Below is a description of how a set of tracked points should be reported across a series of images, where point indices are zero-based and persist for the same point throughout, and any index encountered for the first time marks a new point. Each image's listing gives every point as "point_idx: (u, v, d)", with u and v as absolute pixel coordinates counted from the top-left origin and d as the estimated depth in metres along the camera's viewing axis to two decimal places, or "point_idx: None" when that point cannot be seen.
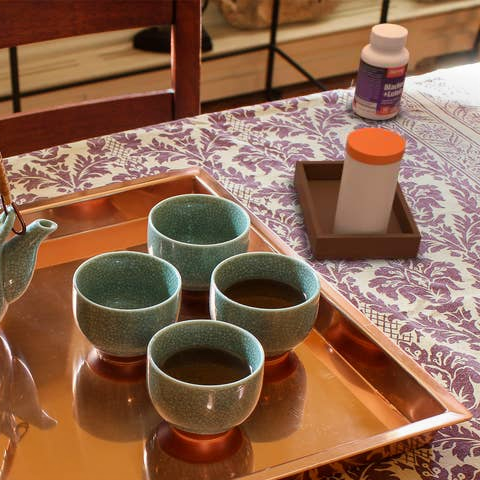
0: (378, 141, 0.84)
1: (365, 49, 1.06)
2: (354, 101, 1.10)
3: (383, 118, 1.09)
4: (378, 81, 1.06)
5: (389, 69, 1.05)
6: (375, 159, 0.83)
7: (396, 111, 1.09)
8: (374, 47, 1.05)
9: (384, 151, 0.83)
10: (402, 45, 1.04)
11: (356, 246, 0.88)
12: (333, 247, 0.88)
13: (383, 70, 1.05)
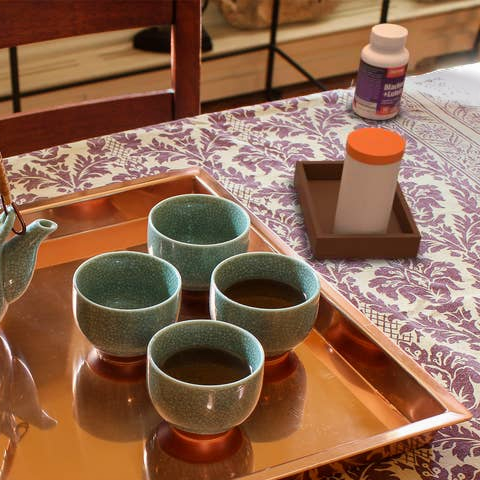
0: (378, 141, 0.84)
1: (365, 49, 1.06)
2: (354, 101, 1.10)
3: (383, 118, 1.09)
4: (378, 81, 1.06)
5: (389, 69, 1.05)
6: (375, 159, 0.83)
7: (396, 111, 1.09)
8: (374, 47, 1.05)
9: (384, 151, 0.83)
10: (402, 45, 1.04)
11: (356, 246, 0.88)
12: (333, 247, 0.88)
13: (383, 70, 1.05)
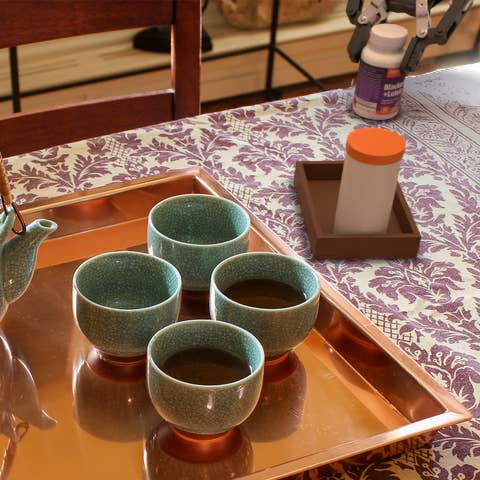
0: (378, 141, 0.84)
1: (365, 49, 1.06)
2: (354, 101, 1.10)
3: (383, 118, 1.09)
4: (378, 81, 1.06)
5: (388, 69, 1.05)
6: (375, 159, 0.83)
7: (396, 111, 1.09)
8: (374, 47, 1.05)
9: (384, 151, 0.83)
10: (402, 45, 1.04)
11: (356, 246, 0.88)
12: (333, 247, 0.88)
13: (383, 70, 1.05)
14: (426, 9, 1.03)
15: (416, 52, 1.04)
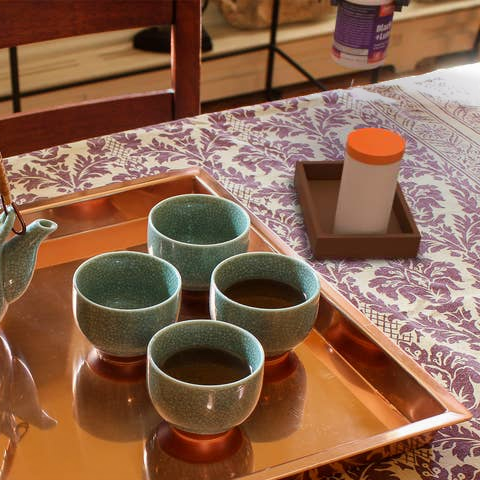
0: (378, 141, 0.84)
1: None
2: (336, 52, 0.93)
3: (375, 66, 0.92)
4: (369, 22, 0.89)
5: (381, 7, 0.88)
6: (375, 159, 0.83)
7: (385, 56, 0.93)
8: None
9: (384, 151, 0.83)
10: None
11: (356, 246, 0.88)
12: (333, 247, 0.88)
13: (375, 8, 0.88)
14: None
15: None
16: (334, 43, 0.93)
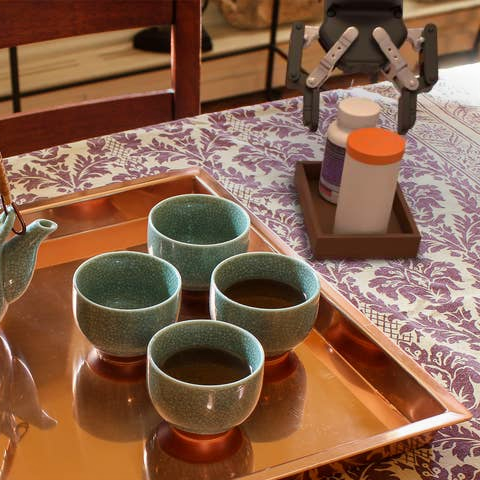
0: (378, 141, 0.84)
1: (336, 132, 0.91)
2: (327, 190, 0.95)
3: None
4: None
5: None
6: (375, 159, 0.83)
7: None
8: (350, 129, 0.90)
9: (384, 151, 0.83)
10: (378, 119, 0.90)
11: (356, 246, 0.88)
12: (333, 247, 0.88)
13: None
14: (403, 59, 0.89)
15: (412, 107, 0.90)
16: (323, 182, 0.95)
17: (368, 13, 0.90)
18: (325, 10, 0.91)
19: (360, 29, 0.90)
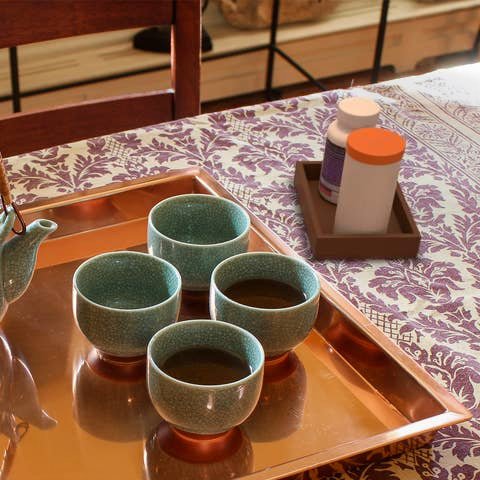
0: (378, 141, 0.84)
1: (336, 132, 0.91)
2: (327, 190, 0.95)
3: None
4: None
5: None
6: (375, 159, 0.83)
7: None
8: (350, 129, 0.90)
9: (384, 151, 0.83)
10: (378, 119, 0.90)
11: (356, 246, 0.88)
12: (333, 247, 0.88)
13: None
14: None
15: None
16: (323, 182, 0.95)
17: None
18: None
19: None
